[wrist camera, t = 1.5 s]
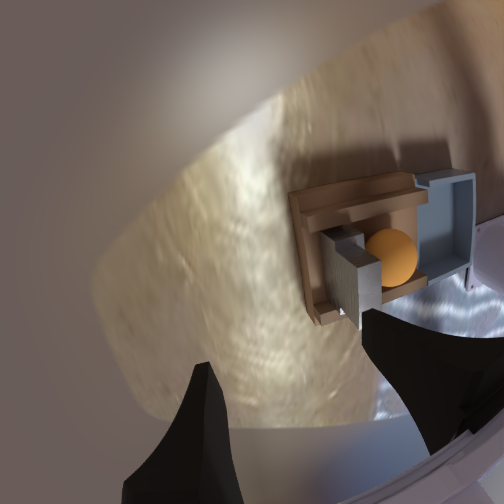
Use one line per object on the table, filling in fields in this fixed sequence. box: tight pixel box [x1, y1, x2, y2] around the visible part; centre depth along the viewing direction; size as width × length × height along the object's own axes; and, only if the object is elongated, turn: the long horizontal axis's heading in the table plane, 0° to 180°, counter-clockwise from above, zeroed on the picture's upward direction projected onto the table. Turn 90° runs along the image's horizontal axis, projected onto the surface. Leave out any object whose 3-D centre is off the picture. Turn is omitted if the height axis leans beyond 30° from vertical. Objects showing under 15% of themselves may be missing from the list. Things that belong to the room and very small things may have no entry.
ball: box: [365, 228, 418, 287], centre depth 18 cm, size 4×4×4 cm
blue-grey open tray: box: [414, 169, 476, 286], centre depth 21 cm, size 7×9×3 cm
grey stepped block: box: [319, 224, 382, 330], centre depth 17 cm, size 2×5×5 cm, turn 12°
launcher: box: [288, 171, 428, 326], centre depth 20 cm, size 10×10×4 cm
